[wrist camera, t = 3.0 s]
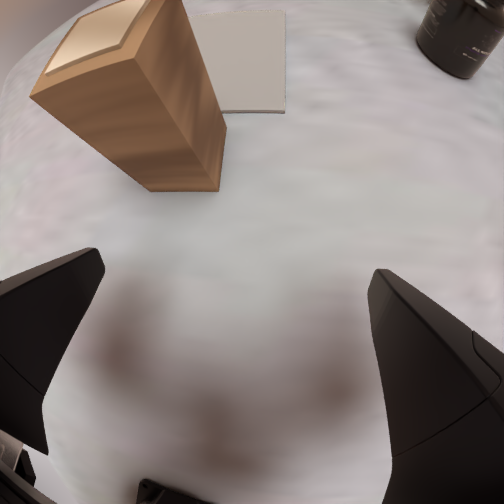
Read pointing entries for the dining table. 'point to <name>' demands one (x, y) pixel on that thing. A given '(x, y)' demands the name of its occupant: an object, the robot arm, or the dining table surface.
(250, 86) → the felt pad
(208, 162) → the walnut block
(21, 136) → the dining table surface
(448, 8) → the supplement bottle
